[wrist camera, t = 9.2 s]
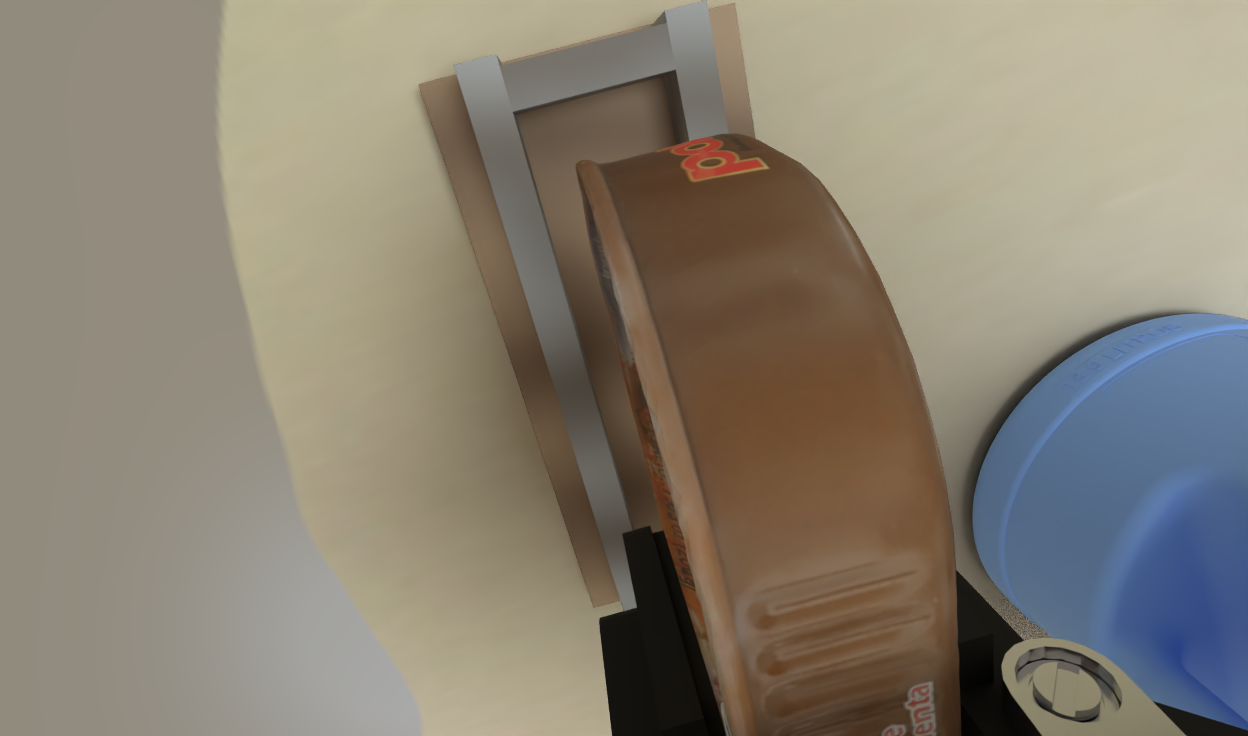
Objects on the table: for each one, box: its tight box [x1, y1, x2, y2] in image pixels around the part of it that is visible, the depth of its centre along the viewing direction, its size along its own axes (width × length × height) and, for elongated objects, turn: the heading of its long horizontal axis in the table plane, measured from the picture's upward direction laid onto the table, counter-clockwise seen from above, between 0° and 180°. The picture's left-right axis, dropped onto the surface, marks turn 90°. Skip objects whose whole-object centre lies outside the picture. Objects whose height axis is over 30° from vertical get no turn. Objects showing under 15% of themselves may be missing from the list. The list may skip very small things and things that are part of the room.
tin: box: [575, 133, 961, 736], centre depth 11 cm, size 15×3×8 cm, turn 13°
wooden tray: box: [419, 0, 755, 611], centre depth 22 cm, size 21×10×3 cm, turn 14°
